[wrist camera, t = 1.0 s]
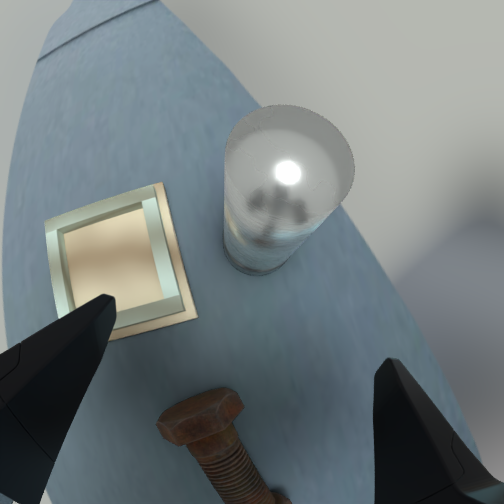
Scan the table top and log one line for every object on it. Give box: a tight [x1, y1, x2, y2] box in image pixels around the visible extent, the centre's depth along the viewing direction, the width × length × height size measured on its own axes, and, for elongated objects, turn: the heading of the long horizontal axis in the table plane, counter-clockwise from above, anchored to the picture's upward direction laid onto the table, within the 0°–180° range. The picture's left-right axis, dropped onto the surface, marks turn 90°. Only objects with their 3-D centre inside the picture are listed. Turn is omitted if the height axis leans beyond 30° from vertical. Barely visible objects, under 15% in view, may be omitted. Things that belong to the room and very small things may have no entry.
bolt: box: [156, 388, 292, 504], centre depth 17 cm, size 6×5×15 cm
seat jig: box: [45, 182, 199, 341], centre depth 21 cm, size 10×10×2 cm
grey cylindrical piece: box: [223, 105, 355, 276], centre depth 17 cm, size 5×5×12 cm
